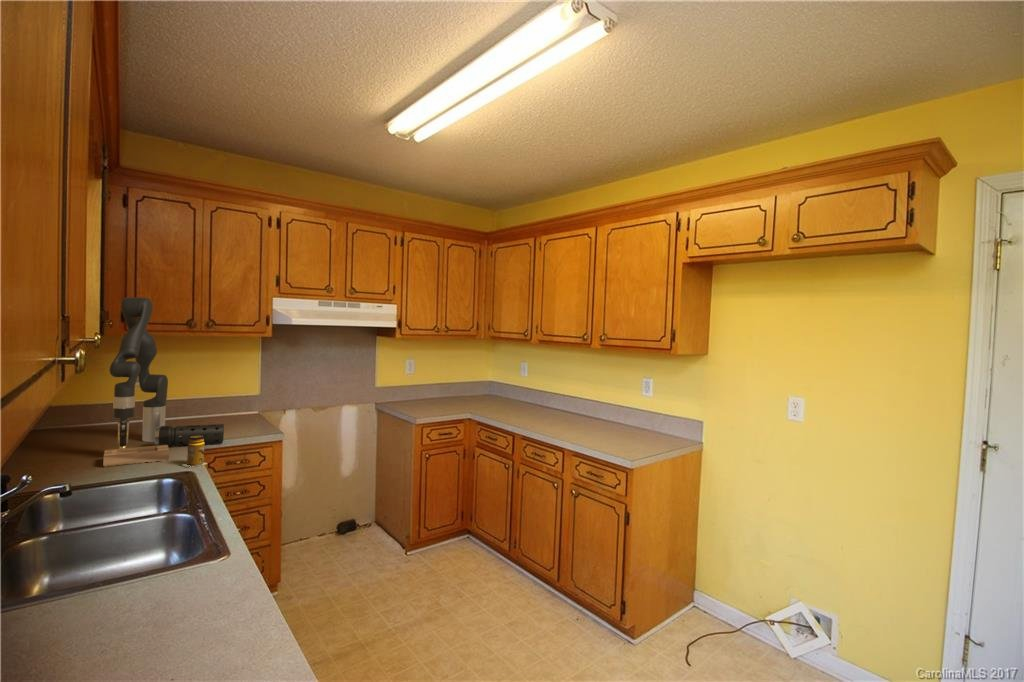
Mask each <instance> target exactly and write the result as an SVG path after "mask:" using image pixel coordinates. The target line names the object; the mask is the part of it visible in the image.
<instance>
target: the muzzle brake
mask: <svg viewBox="0 0 1024 682" xmlns="http://www.w3.org/2000/svg"><path fill="white" fill-rule="evenodd" d="M224 433H225V424H224V423H215V424H195V425H194V424H193V425H191V424H190V425H176V426H172V425H165V426H161V427H158V428H156V429H155V438H154V446H159V445H168V447H169V446H170V447H171V448H173V447H172V446H178V447H180V446H182V445H183V446H185V445H187V446H188V443H189V438H190V437H191V436H198V435H200V436H204V443H205V445H217V444H218V445H219V444H223V442H224Z"/></svg>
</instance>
